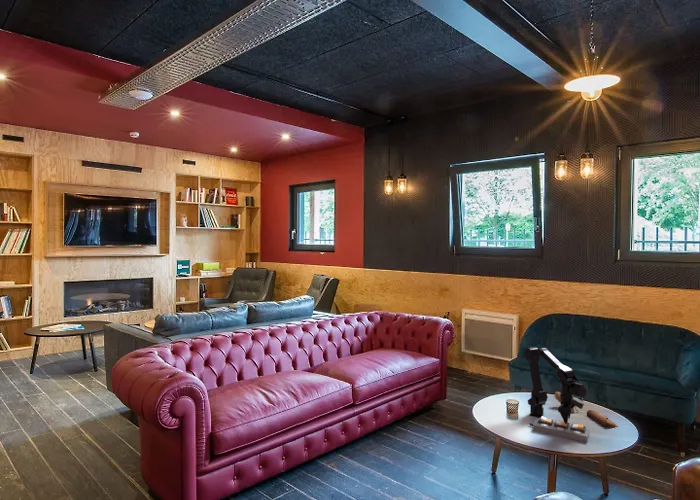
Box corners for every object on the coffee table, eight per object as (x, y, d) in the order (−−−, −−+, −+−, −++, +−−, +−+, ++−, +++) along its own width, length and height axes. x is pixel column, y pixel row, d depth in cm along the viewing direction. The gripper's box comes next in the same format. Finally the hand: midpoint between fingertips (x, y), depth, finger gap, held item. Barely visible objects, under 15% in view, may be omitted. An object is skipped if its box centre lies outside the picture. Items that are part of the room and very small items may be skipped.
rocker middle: (555, 424, 243) (556, 422, 243) (557, 422, 246) (557, 419, 246) (566, 427, 240) (566, 424, 240) (567, 424, 243) (567, 422, 243)
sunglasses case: (620, 427, 247) (614, 417, 246) (609, 434, 247) (604, 424, 246) (599, 414, 265) (594, 405, 264) (590, 420, 265) (584, 411, 264)
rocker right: (572, 429, 238) (572, 426, 238) (573, 426, 241) (573, 424, 242) (583, 429, 235) (582, 427, 236) (584, 427, 239) (583, 424, 239)
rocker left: (540, 420, 247) (540, 418, 247) (541, 418, 250) (542, 416, 250) (550, 424, 244) (550, 422, 244) (551, 422, 248) (551, 419, 247)
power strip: (527, 429, 246) (527, 421, 246) (531, 422, 254) (531, 415, 254) (587, 442, 230) (587, 434, 230) (589, 435, 238) (589, 427, 238)
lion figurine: (552, 406, 278) (552, 392, 278) (557, 404, 281) (557, 390, 281) (576, 413, 267) (576, 398, 266) (580, 411, 270) (581, 396, 270)
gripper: (580, 399, 233) (581, 429, 233) (585, 389, 248) (586, 418, 248) (557, 396, 239) (558, 425, 239) (563, 386, 254) (563, 414, 255)
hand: (567, 420), depth 245 cm, fingers open, 8 cm apart
